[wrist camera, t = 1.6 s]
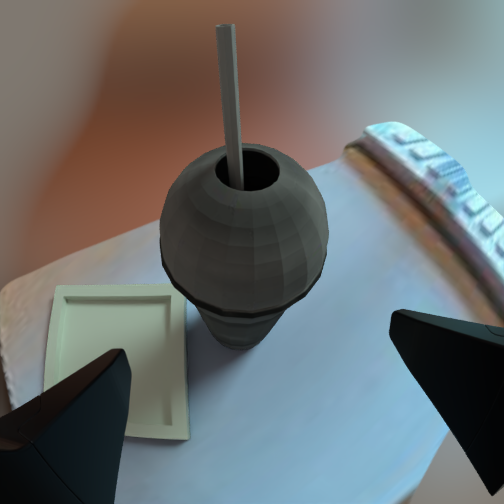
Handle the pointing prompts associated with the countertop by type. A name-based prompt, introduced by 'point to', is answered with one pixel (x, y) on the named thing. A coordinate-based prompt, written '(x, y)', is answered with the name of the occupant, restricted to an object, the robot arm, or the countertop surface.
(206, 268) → the beverage cup
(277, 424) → the countertop surface
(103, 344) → the tray
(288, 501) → the countertop surface
